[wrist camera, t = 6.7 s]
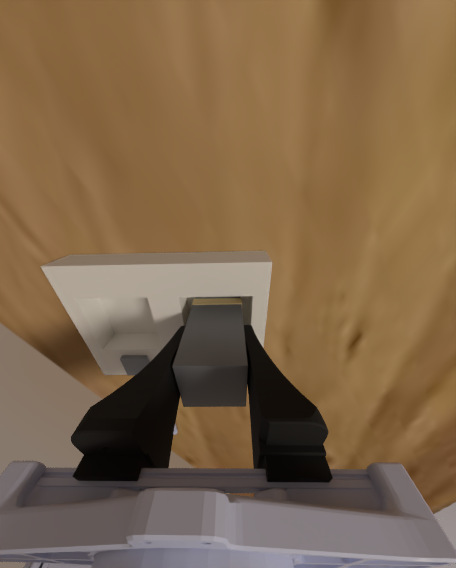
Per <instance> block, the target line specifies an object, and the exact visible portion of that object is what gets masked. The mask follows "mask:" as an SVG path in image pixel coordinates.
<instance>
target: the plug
mask: <svg viewBox="0 0 456 568" xmlns="http://www.w3.org/2000/svg"><path fill="white" fill-rule="evenodd" d="M173 370H174V374H175V377H176V381H177V385H178V388H179V392H180V396H181V399H182V403H183V406H184V407H217V406H246V393H247V372H248V362H247V353H246V343H245V333H244V324H243V314H242V298H241V296H227V297H195V299H193V302H192V308H191V311H190V314H189V317H188V320H187V323H186V326H185V329H184V332H183V335H182V338H181V341H180V345H179V348H178V351H177V354H176V357H175V360H174V363H173Z"/></svg>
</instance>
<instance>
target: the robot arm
mask: <svg viewBox="0 0 456 568" xmlns="http://www.w3.org/2000/svg"><path fill="white" fill-rule="evenodd" d="M184 329H185V326H181V327H180V328H179V329H178V330H177V332H176V333H175V334H174V336H173V337H172V338H171V339H170V341H169V342H168V343H167V344H166V345H165V347H164V348H163V349H162V350H161V351H160V352H159V353H158V354H157V355H156V356H155V357H154V359H153V360H152V361H151V362H150V363H148V364H147V365H146V366H145V367H144V368H143V369H142V370H141V371H140V372H139V373H137V374H136V375H135V376H134V377H133V378H132V379H130V380H129V381H128V382H126V383H125V384H124V385H123V386H121V387H120V388H118V389H117V390H116V391H114V392H113V393H111V394H110V395H109V396H107V397H106V398H104V399H102V400H101V401H100V402H98V403H96V404H95V405H93V406H92V407H90V409H89V410H88V412H87V413H86V414H85V416H84V418H83V419H82V421H81V422H80V424H79V426H78V427H77V428H76V430H75V432H74V433H73V435H72V436H71V441H72V443H73V445H74V446H75V447H76V448H77V449H79V451H81V452H82V453H83V454H84V456H83V458H82V460H81V462H80V463H79V465H78V467H77V468H46V466H45V465H44V464H42V463H40V462H36V461H13V462H11V463H10V464H9V465H8V467H7V468H6V469H5V470H4V471H3V473H2V474H1V475H0V562H26V564H25V566H24V568H431V567H438V566H444V565H450V564H456V550H455V548H454V546H453V545H452V543H451V542H450V540H449V538H448V537H447V535H446V534H445V532H444V530H443V529H442V527H441V526H440V524H439V522H438V521H437V519H436V518H435V516H434V514H433V513H432V511H431V510H430V508H429V507H428V505H427V503H426V502H425V500H424V499H423V497H422V495H421V494H420V492H419V491H418V489H417V487H416V486H415V484H414V483H413V481H412V480H411V478H410V476H409V475H408V473H407V472H406V470H405V468H404V467H403V465H402V464H400V463H384V462H378V463H372V464H370V465H369V466H368V467H367V469H329V466H328V463H327V460H326V458H325V456H326V451H325V449H324V446H323V443H324V441H325V439H326V438H327V435H328V429H327V426H326V424H325V422H324V420H323V418H322V416H321V414H320V412H319V410H318V409H317V407H316V406H315V405H314V404H313V403H311V402H310V401H309V400H308V399H307V398H306V397H305V396H304V395H302V394H301V393H300V392H299V391H298V390H297V389H296V388H295V387H294V386H293V385H292V384H291V383H290V382H289V380H288V379H287V378H286V377H285V376H284V375H283V374H282V373H281V372H280V370H279V369H278V368H277V367H276V365H275V364H274V363H273V362H272V360H271V359H270V357H269V356H268V355H267V353H266V352H265V350H264V348H263V347H262V345H261V343H260V342H259V340H258V338H257V336H256V334H255V332H254V330H253V327H252V326H251V325H244V333H245V343H246V353H247V362H248V372H247V385H248V393H249V405H250V419H251V433H252V448H253V464H254V469H199V468H193V469H189V468H168V467H169V460H170V452H171V446H172V439H173V434H177V431H178V430H177V427H176V424H175V421H176V415H177V409H178V404H179V399H180V392H179V388H178V385H177V381H176V377H175V374H174V370H173V363H174V360H175V357H176V354H177V351H178V348H179V345H180V341H181V338H182V335H183V332H184ZM225 493H255V494H254V497H249V496H240V495H231V494H225Z"/></svg>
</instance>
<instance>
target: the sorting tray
mask: <svg viewBox="0 0 456 568" xmlns="http://www.w3.org/2000/svg"><path fill="white" fill-rule="evenodd" d="M41 268H42V270H43V272H44V273H45V275H46V277H47V278H48V280H49V282H50V283H51V285H52V287H53V289H54V290H55V292H56V294H57V295H58V297H59V299H60V300H61V302H62V304H63V306H64V307H65V309H66V311H67V312H68V314H69V316H70V317H71V319H72V321H73V323H74V324H75V326H76V328H77V329H78V331H79V333H80V334H81V336H82V338H83V340H84V341H85V343H86V345H87V346H88V348H89V350H90V351H91V353H92V355H93V357H94V358H95V360H96V362H97V363H98V365H99V367H100V368H101V370H102V372H103V374H104V375H136V374H137V373H139V372H140V371H141V370H142V369H143V368H144V367H145V366H146V365H147V364H148V363H150V362H151V361H152V360H153V359H154V357H155V356H156V355H157V354H158V353H159V352H160V351H161V350H162V349H163V348H164V347H165V345H166V344H167V343H168V342H169V341H170V339H171V338H172V337H173V336H174V334H175V333H176V332H177V330H178V329H179V328H180V327H181V326H186V323H187V320H188V317H189V314H190V311H191V308H192V302H193V299H195V297H227V296H241V298H242V314H243V324H244V325H251V326H252V327H253V330H254V332H255V334H256V336H257V338H258V340H259V342H260V343H261V345H262V347H263V346H264V336H265V327H266V317H267V308H268V298H269V289H270V280H271V270H272V261H271V259H270V257H269V256H268V254H267V252H266V251H227V252H178V253H129V254H80V255H68V256H66V257H63V258H61V259H58V260H55V261H53V262H50V263H48V264H45V265H43V266H41Z"/></svg>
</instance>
